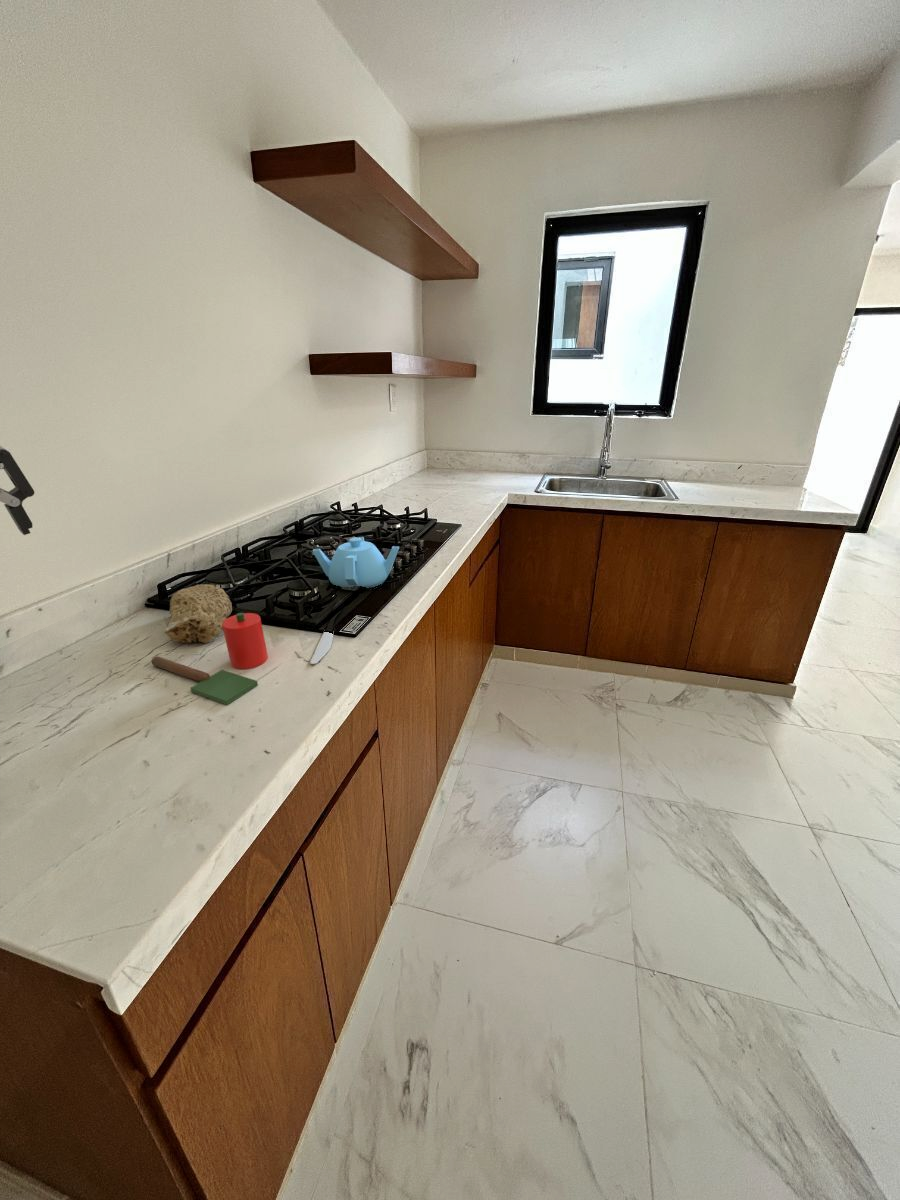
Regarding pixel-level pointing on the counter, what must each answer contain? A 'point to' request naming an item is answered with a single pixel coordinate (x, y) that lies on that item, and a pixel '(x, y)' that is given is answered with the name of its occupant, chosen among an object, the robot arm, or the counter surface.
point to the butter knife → (322, 647)
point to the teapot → (357, 564)
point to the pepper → (245, 640)
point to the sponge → (198, 613)
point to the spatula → (211, 681)
